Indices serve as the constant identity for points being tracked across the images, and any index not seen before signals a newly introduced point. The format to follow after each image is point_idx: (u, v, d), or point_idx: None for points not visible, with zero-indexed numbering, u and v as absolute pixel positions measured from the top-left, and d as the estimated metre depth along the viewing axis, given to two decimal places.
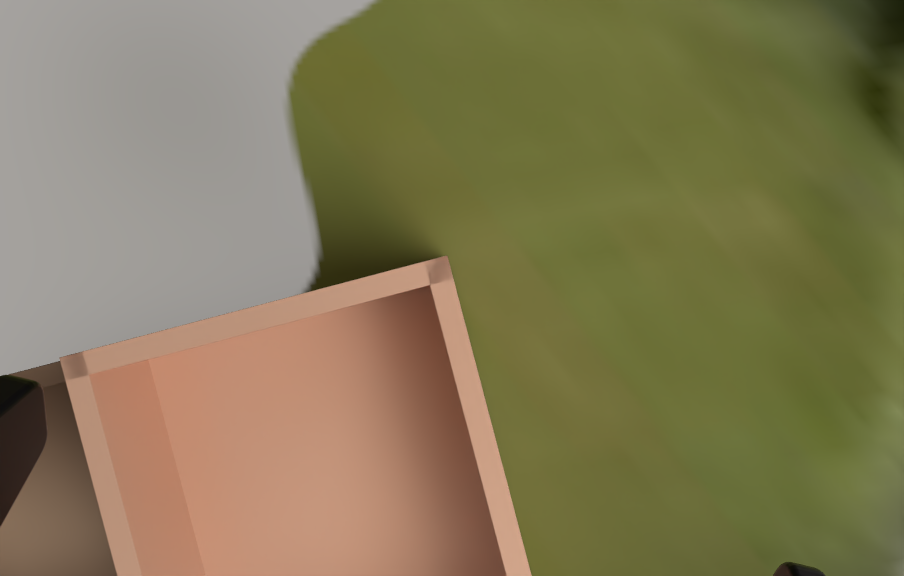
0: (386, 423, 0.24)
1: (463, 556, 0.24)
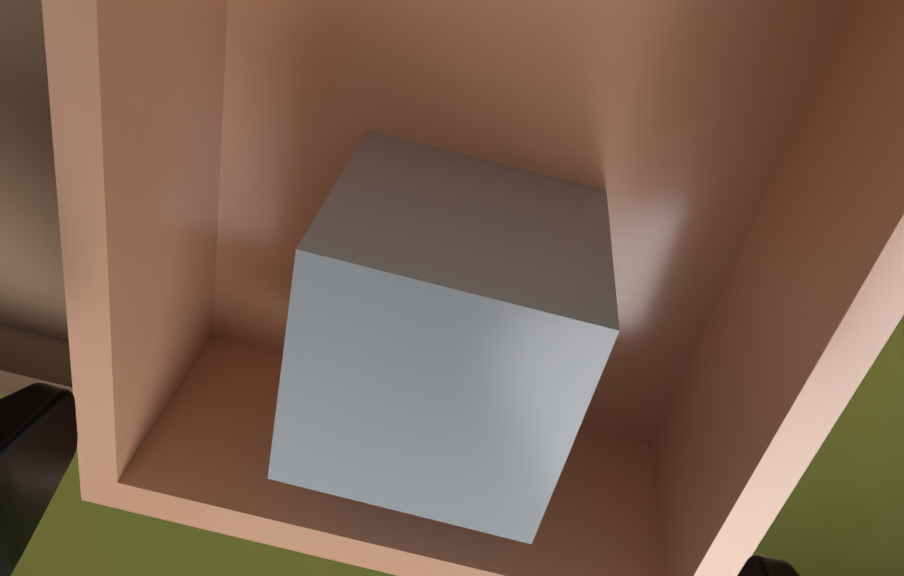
0: (651, 57, 0.12)
1: (634, 316, 0.14)
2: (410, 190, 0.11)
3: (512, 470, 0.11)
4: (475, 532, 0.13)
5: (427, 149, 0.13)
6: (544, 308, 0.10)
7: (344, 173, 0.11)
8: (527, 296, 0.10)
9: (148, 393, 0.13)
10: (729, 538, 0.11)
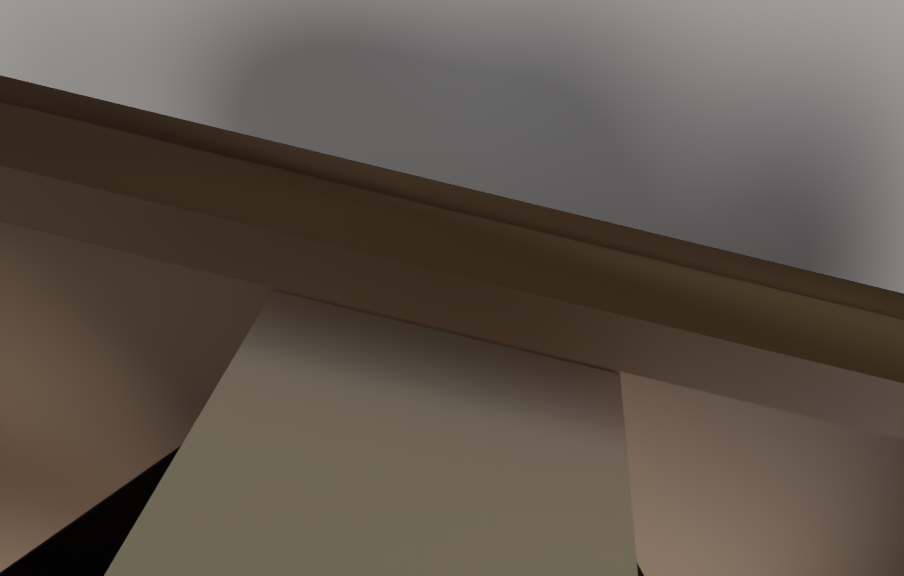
0: None
1: None
2: None
3: None
4: None
5: None
6: None
7: None
8: None
9: None
10: None
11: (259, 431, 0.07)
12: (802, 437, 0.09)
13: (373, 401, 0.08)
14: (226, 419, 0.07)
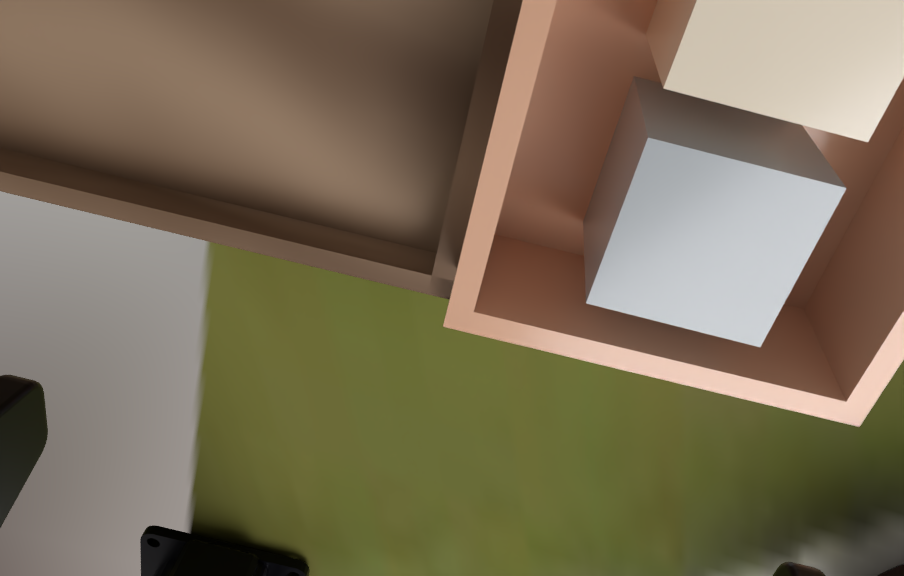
0: None
1: None
2: (684, 111, 0.17)
3: (758, 290, 0.17)
4: (707, 351, 0.19)
5: None
6: (799, 175, 0.16)
7: (641, 100, 0.17)
8: (786, 168, 0.16)
9: None
10: (895, 338, 0.17)
11: None
12: None
13: None
14: None
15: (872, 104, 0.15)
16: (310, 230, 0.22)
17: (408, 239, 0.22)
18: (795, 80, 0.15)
